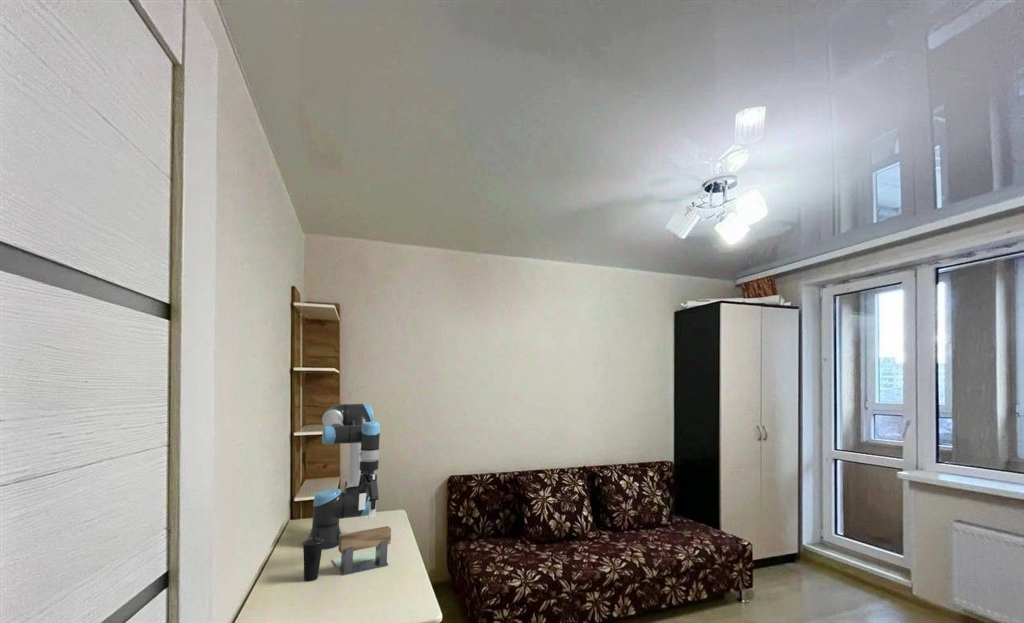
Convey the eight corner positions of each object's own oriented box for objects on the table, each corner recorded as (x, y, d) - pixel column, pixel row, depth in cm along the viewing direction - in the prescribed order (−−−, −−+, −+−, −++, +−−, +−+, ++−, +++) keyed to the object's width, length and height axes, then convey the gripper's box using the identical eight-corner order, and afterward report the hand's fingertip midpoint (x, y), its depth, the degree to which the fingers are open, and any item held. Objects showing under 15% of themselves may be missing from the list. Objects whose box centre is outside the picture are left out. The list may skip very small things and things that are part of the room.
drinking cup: (326, 576, 184) (329, 522, 187) (311, 584, 177) (315, 527, 180) (310, 573, 187) (313, 520, 189) (295, 581, 180) (299, 525, 182)
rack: (339, 570, 190) (340, 545, 191) (383, 560, 200) (384, 537, 201) (343, 575, 185) (344, 549, 186) (388, 565, 195) (389, 541, 196)
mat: (332, 560, 200) (332, 559, 200) (374, 552, 209) (374, 550, 210) (337, 567, 192) (337, 566, 192) (381, 558, 202) (381, 557, 202)
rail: (338, 550, 190) (339, 534, 191) (387, 541, 201) (387, 526, 202) (341, 553, 186) (341, 537, 187) (390, 543, 198) (391, 528, 198)
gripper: (351, 456, 206) (349, 507, 203) (369, 465, 186) (366, 522, 183) (368, 455, 210) (366, 505, 208) (388, 463, 190) (385, 519, 187)
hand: (366, 513), depth 195 cm, fingers open, 13 cm apart
